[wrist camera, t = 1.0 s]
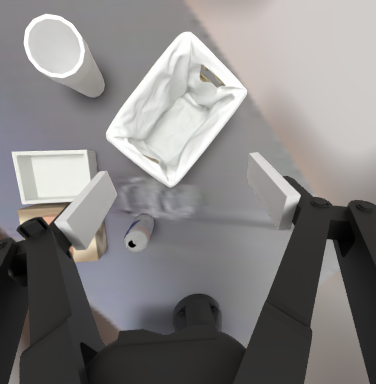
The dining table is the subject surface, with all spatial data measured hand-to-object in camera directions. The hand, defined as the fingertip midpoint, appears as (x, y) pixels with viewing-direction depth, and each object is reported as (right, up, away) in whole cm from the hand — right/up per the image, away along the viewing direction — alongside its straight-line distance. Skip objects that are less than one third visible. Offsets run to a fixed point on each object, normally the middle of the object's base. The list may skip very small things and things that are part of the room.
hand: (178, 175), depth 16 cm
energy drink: (-11, -10, +32) cm, 36 cm away
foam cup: (-23, +25, +25) cm, 42 cm away
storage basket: (-2, +15, +29) cm, 33 cm away
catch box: (-31, +3, +28) cm, 42 cm away
